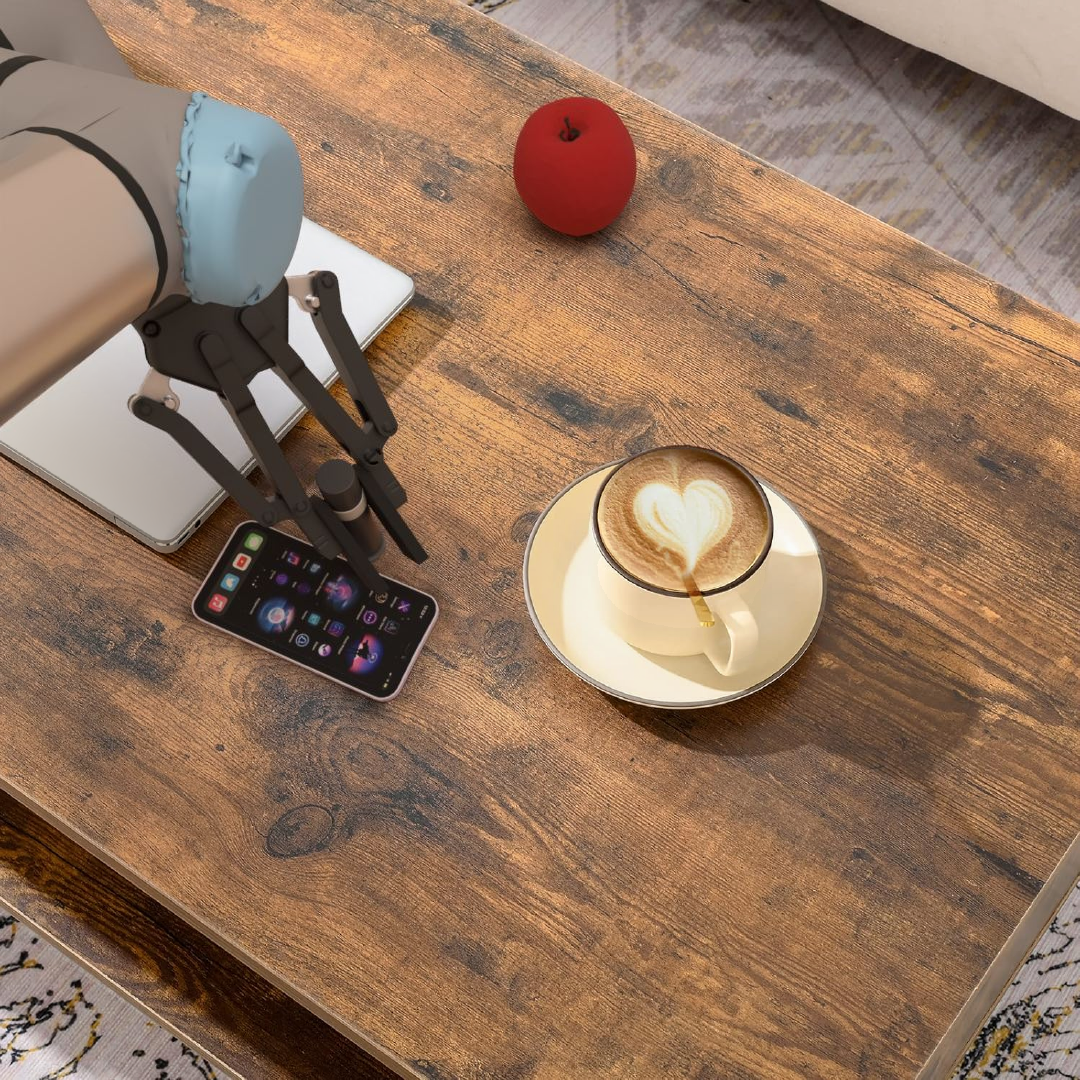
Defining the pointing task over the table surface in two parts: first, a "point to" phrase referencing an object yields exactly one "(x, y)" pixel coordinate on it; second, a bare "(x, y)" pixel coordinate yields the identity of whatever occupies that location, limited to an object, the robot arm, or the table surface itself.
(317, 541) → the robot arm
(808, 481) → the table surface
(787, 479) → the table surface
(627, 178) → the apple
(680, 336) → the table surface
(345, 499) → the pepper grinder
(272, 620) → the smartphone
